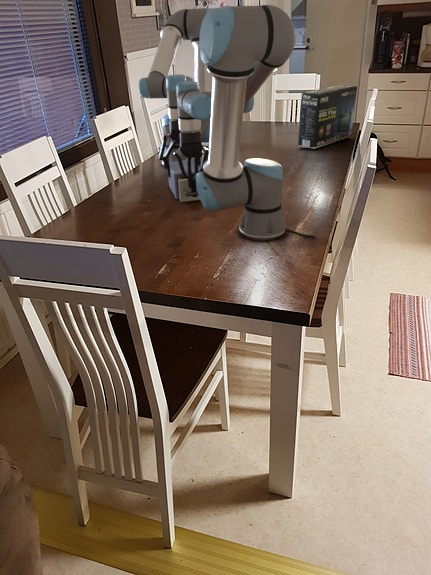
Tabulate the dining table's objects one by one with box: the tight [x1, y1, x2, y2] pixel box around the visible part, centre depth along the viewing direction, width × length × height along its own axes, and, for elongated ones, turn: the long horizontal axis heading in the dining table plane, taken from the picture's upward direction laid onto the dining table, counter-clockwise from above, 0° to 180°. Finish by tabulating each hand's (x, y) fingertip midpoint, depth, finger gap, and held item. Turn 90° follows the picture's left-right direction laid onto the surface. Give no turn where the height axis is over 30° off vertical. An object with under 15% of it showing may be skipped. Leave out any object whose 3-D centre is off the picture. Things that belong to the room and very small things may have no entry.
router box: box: [297, 84, 358, 151], centre depth 238 cm, size 36×11×27 cm, turn 134°
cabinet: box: [168, 159, 200, 200], centre depth 185 cm, size 17×11×10 cm, turn 14°
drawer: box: [177, 174, 201, 203], centre depth 177 cm, size 21×10×8 cm, turn 14°
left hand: (183, 175), depth 188 cm, fingers closed on cabinet, 11 cm apart
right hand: (194, 195), depth 171 cm, fingers closed
